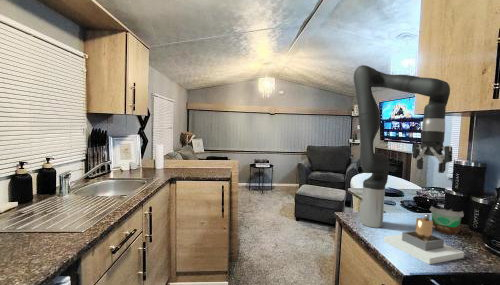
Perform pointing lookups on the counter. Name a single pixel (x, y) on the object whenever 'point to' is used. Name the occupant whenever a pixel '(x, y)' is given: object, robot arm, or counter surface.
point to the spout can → (424, 228)
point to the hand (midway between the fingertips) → (430, 170)
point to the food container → (446, 220)
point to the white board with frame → (424, 248)
